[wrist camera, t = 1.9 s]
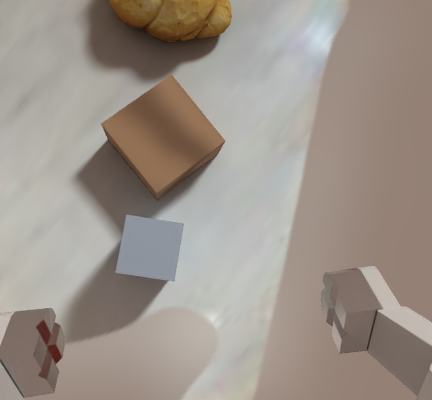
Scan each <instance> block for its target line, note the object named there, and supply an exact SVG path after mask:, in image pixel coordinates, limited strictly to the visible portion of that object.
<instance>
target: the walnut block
mask: <svg viewBox="0 0 432 400" xmlns="http://www.w3.org/2000/svg"><path fill="white" fill-rule="evenodd" d="M102 127H103V129H104V131H105V134H106V136H107V138H108V140H109V141H110V143H111V144H112V145H113V146H114V148H115V149H116V150H117V151H118V153H119V154H120V155H121V156H122V158H123V159H124V160H125V161H126V163H127V164H128V165H129V166H130V168H131V169H132V170H133V171H134V173H135V174H136V175H137V176H138V178H139V179H140V180H141V181H142V183H143V184H144V185H145V186H146V188H147V189H148V190H149V191H150V193H151V194H152V195H153V196H154V198H155V199H156V200H157V201H158V200H159V199H160V198H161V197H163V196H164V195H165V194H167V193H168V192H169V191H171V190H172V189H173V188H174V187H176V186H177V185H178V184H180V183H181V182H182V181H184V180H185V179H186V178H187V177H189V176H190V175H191V174H193V173H194V172H195V171H197V170H198V169H199V168H200V167H202V166H203V165H204V164H206V163H207V162H208V161H210V160H211V159H212V158H213V157H215V156H216V155H217V154H218V153H219V151H220V150H221V148H222V146H223V144H224V142H225V140H224V139H223V138H222V136H221V135H220V134H219V133H218V131H217V130H216V129H215V128H214V126H213V125H212V124H211V123H210V121H209V120H208V119H207V118H206V117H205V115H204V114H203V113H202V112H201V110H200V109H199V108H198V107H197V105H196V104H195V103H194V102H193V100H192V99H191V98H190V97H189V96H188V94H187V93H186V92H185V91H184V89H183V88H182V87H181V86H180V84H179V83H178V82H177V81H176V80H175V78H174V77H173V76H172V75H170V76H169V77H167V78H166V79H165V80H163V81H162V82H160V83H159V84H157V85H156V86H155V87H153V88H152V89H150V90H149V91H147V92H146V93H145V94H143V95H142V96H140V97H139V98H137V99H136V100H135V101H133V102H132V103H130V104H129V105H127V106H126V107H124V108H123V109H122V110H120V111H119V112H117V113H116V114H114V115H113V116H112V117H110V118H109V119H107V120H106V121H104V122H103V123H102Z"/></svg>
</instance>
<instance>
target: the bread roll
mask: <svg viewBox="0 0 432 400" xmlns="http://www.w3.org/2000/svg"><path fill="white" fill-rule="evenodd" d="M109 1H110V5H111V7H112V8H113V10H114V11H115V12H116V14H117V15H118V17H119V18H120V20H122V21H124V22H125V23H126V24H127V25H128V26H131V27H133V28H137V29H140V28H143V29H144V30H145V31H146V32H147V33H148V34H150V35H152V36H154V37H156V38H158V39H160V40H164V41H166V42H167V43H171V42H175V41H180V42H181V41H185V40H189V39H193V38H195V39H198V38H209V37H213V36H217V35H220V34H221V33H223V32H224V31H225V30H226V29H227V27H228V26H229V25H230V22H231V17H232V15H231V5H230V2H229V0H109Z"/></svg>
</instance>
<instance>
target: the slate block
mask: <svg viewBox="0 0 432 400" xmlns="http://www.w3.org/2000/svg"><path fill="white" fill-rule="evenodd" d="M183 226H184V224H182V223H176V222H170V221H164V220H157V219H151V218H145V217H139V216H133V215H127V214H126V219H125V224H124V230H123V235H122V240H121V245H120V251H119V256H118V261H117V266H116V272H115V273H120V274H127V275H134V276H140V277H147V278H154V279H161V280H167V281H174V280H175V274H176V268H177V262H178V256H179V250H180V244H181V238H182V232H183Z"/></svg>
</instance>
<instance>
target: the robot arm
mask: <svg viewBox="0 0 432 400" xmlns="http://www.w3.org/2000/svg"><path fill="white" fill-rule="evenodd" d="M323 284H324V286H325V288H324V290H322V292H321V306H322V311H323V314H324V317H325V319H326V322H327V323H328V324H330V325H331V326H332V334H331V335H332V337H333V339H334V342H335V345H336V347H337V349H338V352H339V354H340V353H350V352H359V351H368V353H369V354H370V355H371V356H373V357H374V358H375V359H376V360H377V361H378V362H379V363H380V364H382V365H383V366H384V367H385V368H386V369H387V370H388V371H389V372H391V373H392V374H393V375H394V376H395V377H396V378H397V379H399V380H400V381H401V382H402V383H403V384H404V385H405V386H407V387H408V388H409V389H410V390H411V391H412V392H413V393H414V394H416V395H417V396H418V397H417V400H432V322H430V321H429V320H427V319H425V318H424V317H422V316H420V315H419V314H417V313H416V312H414V311H412V310H411V309H409V308H407V307H401V306H400V305H399V303H398V301H397V300H396V298H395V297H394V295H393V294H392V292H391V290H390V289H389V287H388V285H387V284H386V282H385V281H384V279H383V277H382V276H381V274H380V273H379V271H378V269H377V268H376V267H374V266H369V267H362V268H353V269H346V270H339V271H332V272H325V274H324V275H323ZM55 318H56V315H55V313H54V311H53V309H52V308H45V309H36V310H26V311H16V312H9V313H0V400H24V398H26V397H32V396H38V395H44V394H50V393H54V391H55V387H56V382H57V378H58V374H59V370H58V368H57V366H56V363H58V362H59V360H60V359H61V358H62V356H63V351H64V334H63V330H62V328H61V326H60V325H59V324H57V323H55Z"/></svg>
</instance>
